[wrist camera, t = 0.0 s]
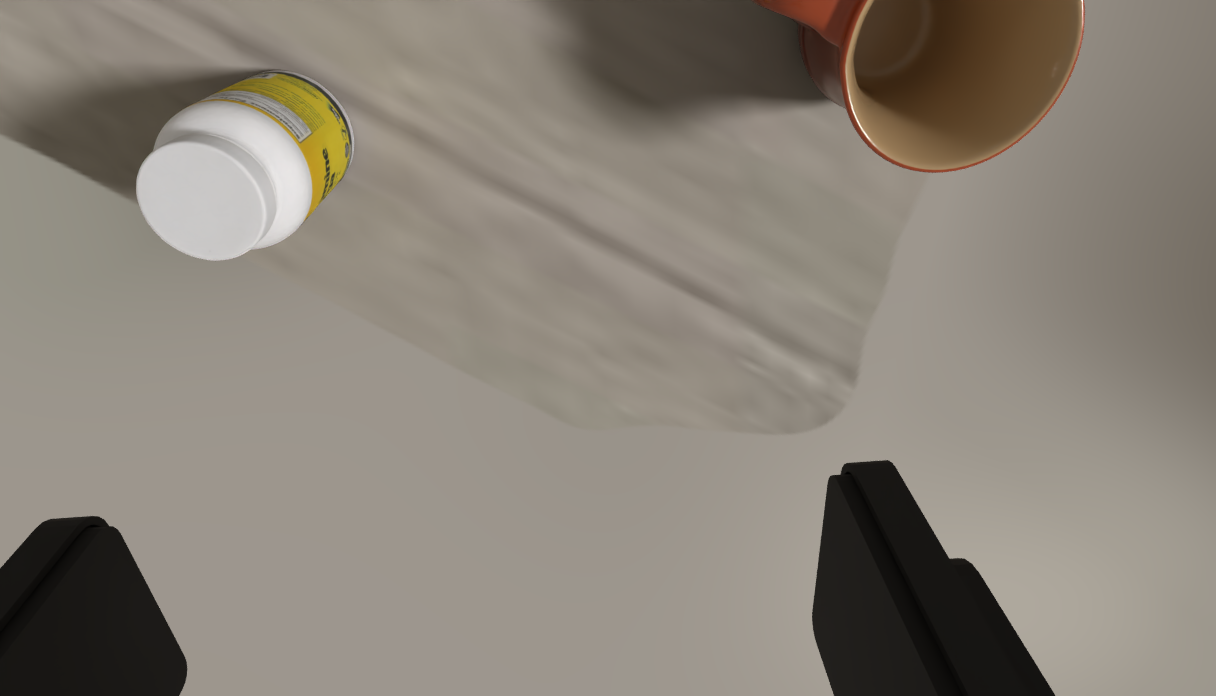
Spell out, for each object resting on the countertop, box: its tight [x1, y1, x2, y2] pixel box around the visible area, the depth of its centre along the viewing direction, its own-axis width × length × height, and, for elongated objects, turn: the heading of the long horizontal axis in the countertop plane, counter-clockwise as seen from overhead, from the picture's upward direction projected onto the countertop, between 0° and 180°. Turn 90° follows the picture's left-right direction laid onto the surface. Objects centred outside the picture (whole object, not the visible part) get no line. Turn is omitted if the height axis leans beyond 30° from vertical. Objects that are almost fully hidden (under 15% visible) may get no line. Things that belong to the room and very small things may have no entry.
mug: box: [751, 0, 1085, 173], centre depth 31 cm, size 12×9×10 cm
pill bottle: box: [136, 70, 354, 260], centre depth 33 cm, size 6×6×11 cm
